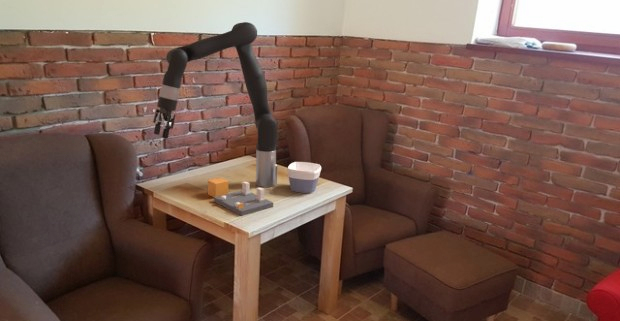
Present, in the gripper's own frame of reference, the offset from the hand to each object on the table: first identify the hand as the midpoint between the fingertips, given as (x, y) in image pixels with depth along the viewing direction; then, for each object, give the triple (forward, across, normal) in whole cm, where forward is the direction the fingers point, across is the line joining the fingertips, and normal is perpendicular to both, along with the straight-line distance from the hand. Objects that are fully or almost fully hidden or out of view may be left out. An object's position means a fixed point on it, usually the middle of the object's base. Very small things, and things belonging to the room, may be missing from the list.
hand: (160, 136), depth 189 cm
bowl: (+12, -23, -64) cm, 69 cm away
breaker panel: (+20, -24, -31) cm, 44 cm away
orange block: (+21, -9, -28) cm, 36 cm away
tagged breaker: (+17, -29, -35) cm, 49 cm away
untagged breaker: (+17, -19, -35) cm, 43 cm away
